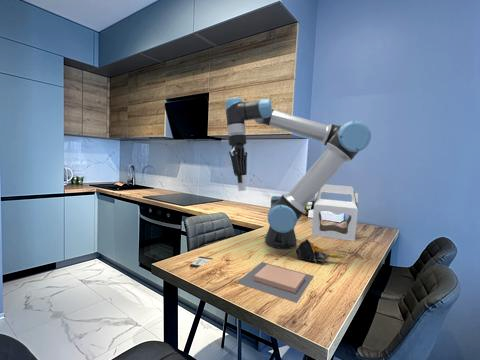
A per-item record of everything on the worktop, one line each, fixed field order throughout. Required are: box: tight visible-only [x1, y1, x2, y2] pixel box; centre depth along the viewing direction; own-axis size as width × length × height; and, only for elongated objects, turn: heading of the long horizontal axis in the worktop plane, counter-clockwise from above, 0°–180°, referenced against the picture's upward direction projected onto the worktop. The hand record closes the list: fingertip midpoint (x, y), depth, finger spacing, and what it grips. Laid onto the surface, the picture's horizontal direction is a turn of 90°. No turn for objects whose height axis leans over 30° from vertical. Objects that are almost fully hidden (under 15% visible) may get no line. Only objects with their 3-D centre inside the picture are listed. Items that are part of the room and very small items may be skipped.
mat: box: [235, 261, 315, 304], centre depth 86 cm, size 20×20×1 cm
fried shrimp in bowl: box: [295, 239, 346, 264], centre depth 105 cm, size 9×11×18 cm
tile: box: [254, 263, 306, 293], centre depth 85 cm, size 11×2×14 cm
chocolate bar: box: [189, 256, 214, 269], centre depth 96 cm, size 9×1×18 cm
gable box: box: [311, 183, 359, 242], centre depth 141 cm, size 22×13×28 cm, turn 70°
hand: (242, 190), depth 109 cm, fingers closed
